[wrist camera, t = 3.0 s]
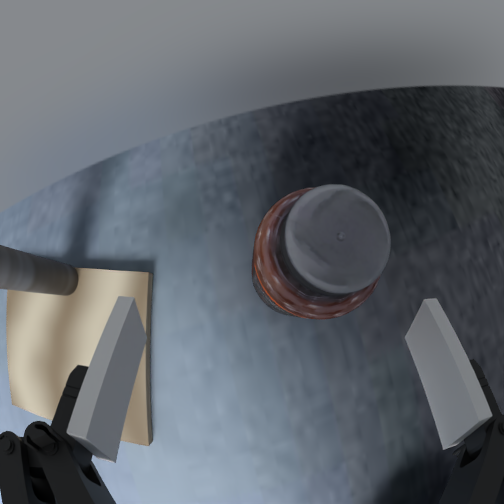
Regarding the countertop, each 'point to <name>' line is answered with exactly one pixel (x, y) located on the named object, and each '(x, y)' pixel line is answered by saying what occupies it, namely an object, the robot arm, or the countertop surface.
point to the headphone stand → (68, 331)
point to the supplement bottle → (320, 252)
